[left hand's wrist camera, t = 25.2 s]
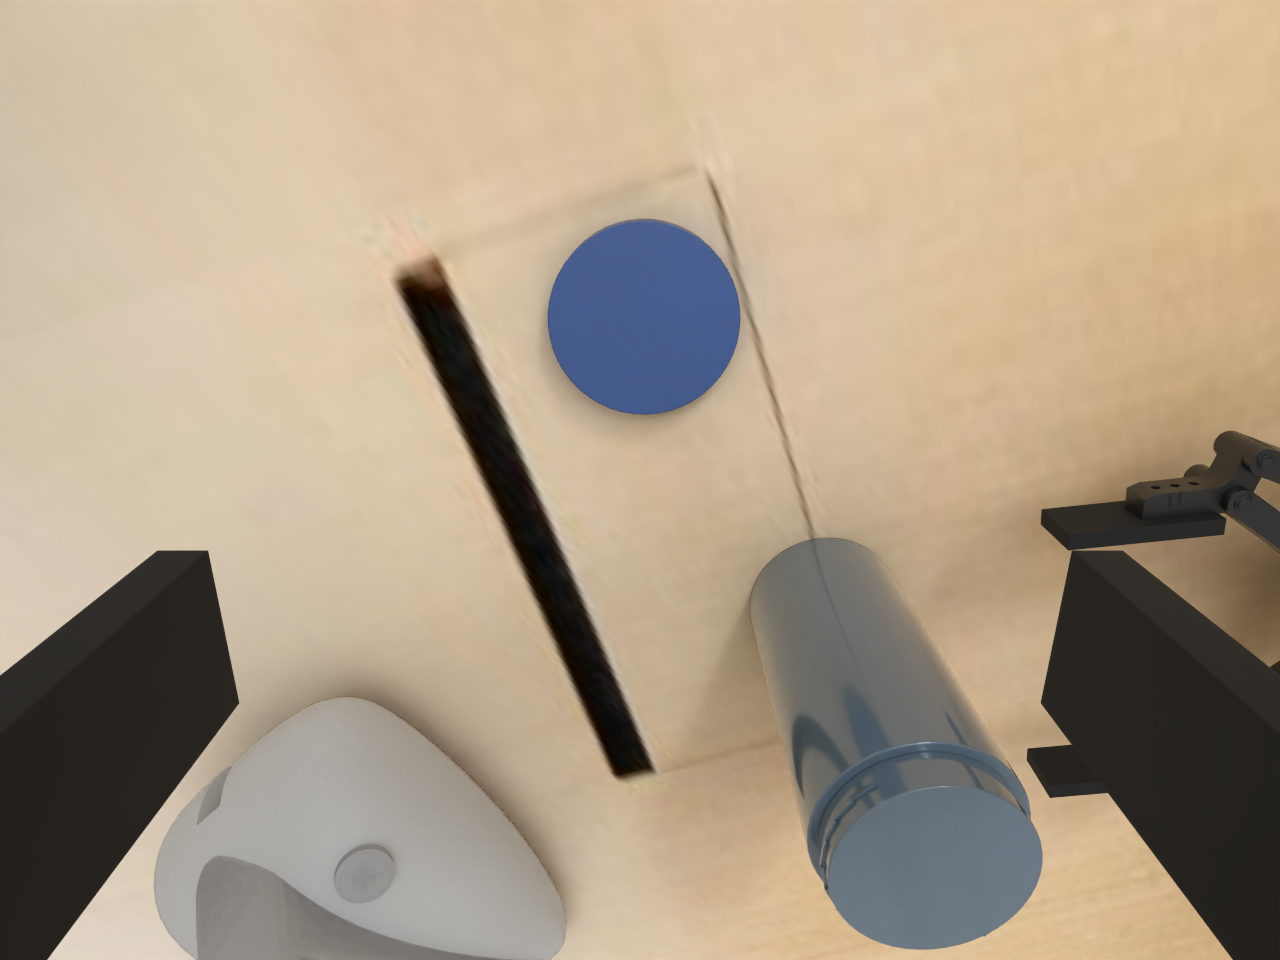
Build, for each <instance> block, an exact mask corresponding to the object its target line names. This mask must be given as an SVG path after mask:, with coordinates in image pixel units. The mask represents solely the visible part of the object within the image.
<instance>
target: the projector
mask: <svg viewBox="0 0 1280 960" xmlns="http://www.w3.org/2000/svg"><path fill="white" fill-rule="evenodd" d="M154 893H155V902H156V906H157V909H158V912H159V916H160V918H161V920H162V922H163V924H164V926H165V927H166V929H167V931H168V933H169V934H170V935H171V936H172V938H173V939H174V940H175V941H176V942H177V943H178V945H179V946H180V947H181V948H182V949H183V950H185V951H186V952H187V953H188V954H190V955H191V956H192V957H193V958H195V959H196V960H551V959H552V958H553V957H554V956H555V955H556V954H557V953H558V951H559V950H560V949H561V947H562V946H563V943H564V940H565V934H566V911H565V907H564V904H563V902H562V900H561V897H560V895H559V893H558V891H557V889H556V887H555V885H554V884H553V882H552V880H551V878H550V877H549V875H548V873H547V872H546V870H545V869H544V867H543V866H542V864H541V862H540V861H539V859H538V858H537V856H536V855H535V853H534V852H533V851H532V849H531V848H530V846H529V845H528V844H527V842H526V841H525V839H524V838H523V837H522V836H521V834H520V833H519V832H518V830H517V829H516V828H515V827H514V825H513V824H512V823H511V822H510V820H509V819H508V818H507V817H506V816H505V815H504V813H503V812H502V811H501V810H500V809H499V808H498V807H497V805H496V804H495V803H494V802H493V801H492V800H491V799H490V798H489V797H488V796H487V795H486V794H485V793H484V792H483V791H482V789H481V788H480V787H479V786H478V785H477V784H476V783H475V782H474V781H473V780H472V779H471V778H470V777H469V776H468V775H467V774H466V773H465V772H464V771H463V770H462V769H461V768H459V767H458V766H457V765H456V764H455V763H454V762H453V761H452V760H451V759H450V758H449V757H447V756H446V755H445V754H444V753H443V752H442V751H441V750H440V749H439V748H437V747H436V746H435V745H434V744H433V743H432V742H430V741H429V740H428V739H427V738H426V737H424V736H423V735H422V734H421V733H420V732H418V731H417V730H416V729H414V728H413V727H412V726H411V725H409V724H408V723H407V722H405V721H404V720H402V719H401V718H399V717H398V716H396V715H395V714H393V713H392V712H391V711H389V710H387V709H385V708H383V707H381V706H380V705H378V704H376V703H373V702H371V701H368V700H365V699H361V698H355V697H340V698H333V699H328V700H324V701H321V702H317V703H315V704H312V705H310V706H308V707H306V708H304V709H302V710H301V711H299V712H298V713H296V714H294V715H293V716H291V717H289V718H288V719H286V720H285V721H283V722H282V723H281V724H279V725H278V726H276V727H275V728H274V729H272V730H271V731H270V732H268V733H267V734H266V735H265V736H263V737H262V738H261V739H260V740H258V741H257V742H256V743H255V744H254V745H252V746H251V747H250V748H249V749H248V750H246V751H245V752H244V753H243V754H242V755H241V756H240V757H239V758H238V759H237V760H236V762H235V763H234V764H233V766H231V767H229V768H227V769H225V770H224V771H222V772H221V773H220V774H219V775H218V776H216V777H215V778H214V779H213V780H212V781H211V782H210V783H209V784H208V785H207V786H205V787H204V788H203V789H202V790H201V791H200V792H199V793H198V794H197V795H196V796H195V797H194V798H193V799H192V800H191V801H190V803H189V804H188V805H187V806H186V807H185V808H184V809H183V810H182V812H181V813H180V814H179V816H178V817H177V818H176V820H175V821H174V823H173V824H172V826H171V828H170V829H169V831H168V833H167V834H166V836H165V838H164V840H163V842H162V845H161V847H160V850H159V853H158V857H157V862H156V868H155V875H154Z"/></svg>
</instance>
